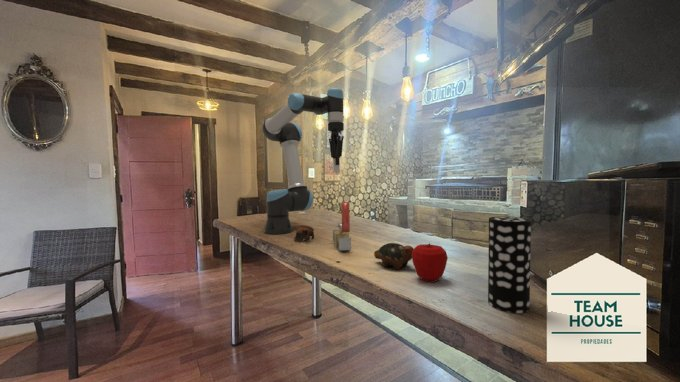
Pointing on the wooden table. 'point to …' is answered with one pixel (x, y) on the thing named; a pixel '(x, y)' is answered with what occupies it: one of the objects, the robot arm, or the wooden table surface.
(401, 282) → the wooden table surface
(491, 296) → the spotted tube
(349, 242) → the pipe valve
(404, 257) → the decorative turtle
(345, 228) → the lever
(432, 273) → the apple
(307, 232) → the brown animal figurine
